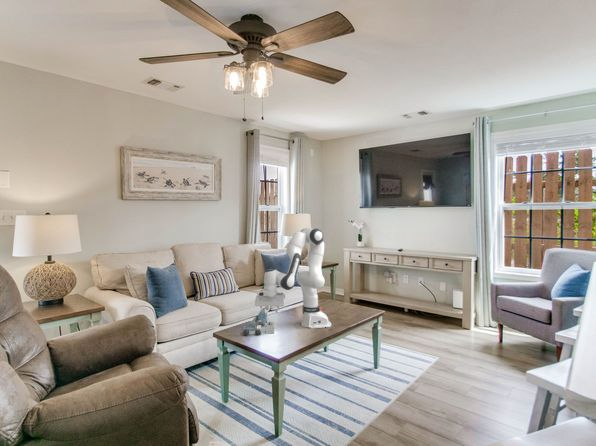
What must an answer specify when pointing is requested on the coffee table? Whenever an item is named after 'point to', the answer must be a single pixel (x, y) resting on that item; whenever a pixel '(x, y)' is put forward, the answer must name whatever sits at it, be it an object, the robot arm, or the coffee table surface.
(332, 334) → the coffee table surface
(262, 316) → the toy figure
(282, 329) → the coffee table surface
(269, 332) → the cube with round knob
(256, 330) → the chassis
